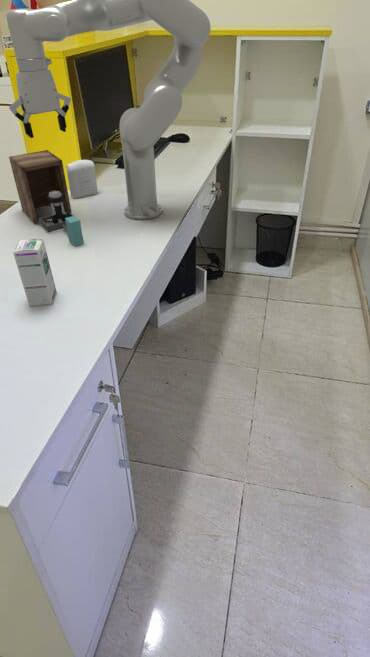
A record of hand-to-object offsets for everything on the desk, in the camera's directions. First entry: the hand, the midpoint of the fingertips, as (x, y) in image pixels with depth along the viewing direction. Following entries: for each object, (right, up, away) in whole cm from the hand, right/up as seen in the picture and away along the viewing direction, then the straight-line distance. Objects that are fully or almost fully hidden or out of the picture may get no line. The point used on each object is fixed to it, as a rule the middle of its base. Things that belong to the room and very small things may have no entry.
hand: (47, 133), depth 129 cm
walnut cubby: (-7, -17, +22) cm, 29 cm away
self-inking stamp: (-1, -22, +15) cm, 27 cm away
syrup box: (+5, -49, -21) cm, 54 cm away
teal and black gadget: (+3, -26, +9) cm, 28 cm away
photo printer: (+3, -7, +35) cm, 36 cm away
